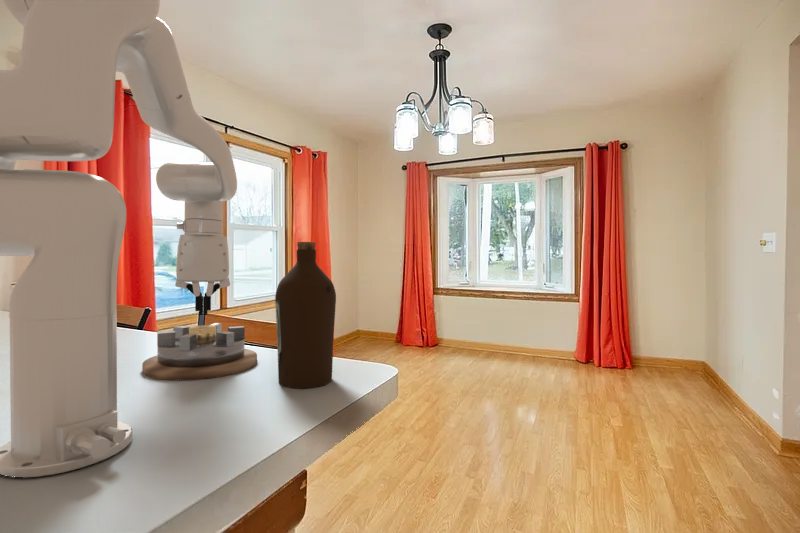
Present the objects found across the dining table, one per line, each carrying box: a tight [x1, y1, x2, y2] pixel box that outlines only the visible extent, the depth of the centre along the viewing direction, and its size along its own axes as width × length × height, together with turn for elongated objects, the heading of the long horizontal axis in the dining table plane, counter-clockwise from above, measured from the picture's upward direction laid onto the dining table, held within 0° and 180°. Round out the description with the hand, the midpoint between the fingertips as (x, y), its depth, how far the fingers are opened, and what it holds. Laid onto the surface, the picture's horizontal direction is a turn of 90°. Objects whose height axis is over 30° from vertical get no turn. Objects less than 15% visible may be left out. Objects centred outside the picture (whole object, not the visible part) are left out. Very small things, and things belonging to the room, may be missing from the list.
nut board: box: [141, 348, 258, 381], centre depth 87 cm, size 21×21×2 cm
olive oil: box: [274, 241, 337, 389], centre depth 77 cm, size 11×11×25 cm
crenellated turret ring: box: [156, 322, 246, 367], centre depth 87 cm, size 16×16×6 cm
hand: (203, 314), depth 93 cm, fingers closed
